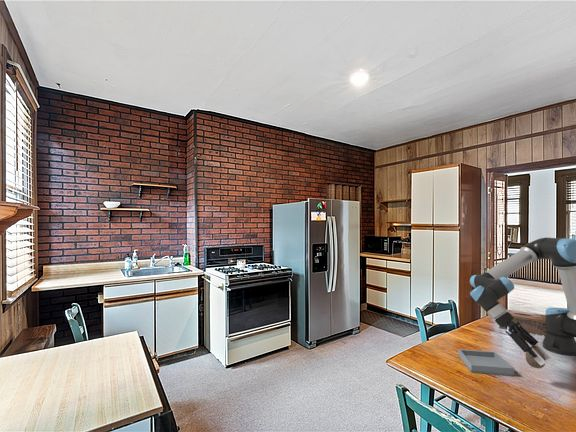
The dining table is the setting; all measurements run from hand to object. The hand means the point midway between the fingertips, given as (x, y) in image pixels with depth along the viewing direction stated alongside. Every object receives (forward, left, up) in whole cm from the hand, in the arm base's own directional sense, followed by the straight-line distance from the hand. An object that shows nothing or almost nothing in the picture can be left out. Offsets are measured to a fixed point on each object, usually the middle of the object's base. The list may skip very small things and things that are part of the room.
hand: (545, 361), depth 130 cm
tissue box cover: (-29, -74, -11) cm, 80 cm away
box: (+18, -15, -11) cm, 26 cm away
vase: (+3, -2, -4) cm, 5 cm away
